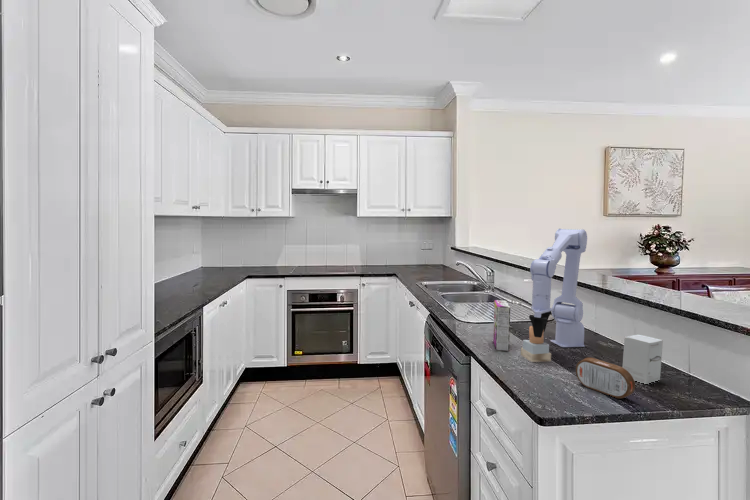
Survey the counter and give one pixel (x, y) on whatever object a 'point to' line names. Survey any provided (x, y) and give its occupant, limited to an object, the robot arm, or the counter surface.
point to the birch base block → (535, 356)
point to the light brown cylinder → (535, 339)
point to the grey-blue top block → (535, 347)
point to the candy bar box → (501, 325)
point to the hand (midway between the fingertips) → (539, 334)
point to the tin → (605, 377)
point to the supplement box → (643, 358)
